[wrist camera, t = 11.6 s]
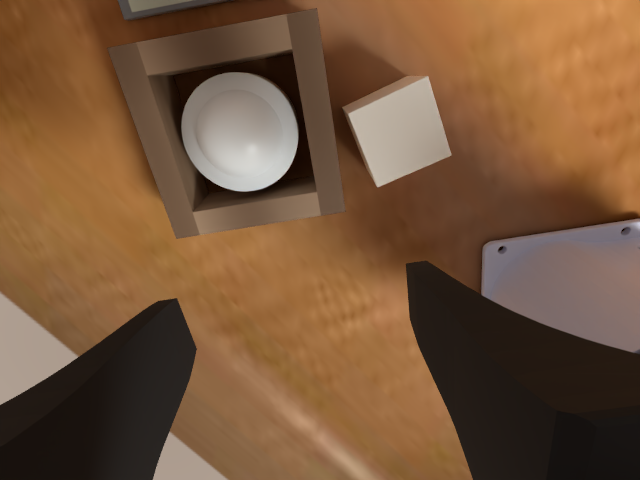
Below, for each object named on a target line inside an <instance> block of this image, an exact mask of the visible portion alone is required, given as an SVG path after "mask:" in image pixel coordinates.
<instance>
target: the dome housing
mask: <svg viewBox="0 0 640 480" xmlns="http://www.w3.org/2000/svg"><path fill="white" fill-rule="evenodd" d="M107 49H108V52H109V55H110V58H111V60H112V63H113V66H114V69H115V71H116V74H117V77H118V80H119V82H120V85H121V88H122V91H123V93H124V96H125V99H126V102H127V104H128V107H129V110H130V113H131V115H132V118H133V121H134V124H135V126H136V129H137V132H138V135H139V137H140V140H141V143H142V146H143V148H144V151H145V154H146V157H147V159H148V162H149V165H150V168H151V170H152V173H153V176H154V179H155V181H156V184H157V187H158V190H159V192H160V195H161V198H162V201H163V203H164V206H165V209H166V212H167V214H168V217H169V220H170V223H171V225H172V228H173V231H174V234H175V236H176V239H178V238H184V237H191V236H197V235H203V234H209V233H216V232H222V231H228V230H234V229H241V228H247V227H253V226H259V225H266V224H272V223H278V222H285V221H291V220H297V219H303V218H310V217H316V216H322V215H328V214H335V213H341V212H346V210H345V203H344V196H343V189H342V182H341V175H340V168H339V161H338V154H337V147H336V140H335V133H334V126H333V119H332V111H331V104H330V97H329V90H328V83H327V76H326V69H325V62H324V55H323V48H322V41H321V34H320V27H319V20H318V12H317V8H316V9H310V10H305V11H300V12H294V13H289V14H284V15H279V16H273V17H268V18H263V19H257V20H252V21H247V22H241V23H236V24H231V25H226V26H220V27H215V28H210V29H204V30H199V31H194V32H188V33H183V34H178V35H173V36H167V37H162V38H157V39H151V40H146V41H141V42H135V43H130V44H125V45H119V46H114V47H109V48H107ZM292 53H293V57H294V62H295V68H296V74H297V80H298V86H299V91H300V97H301V103H302V109H303V114H304V120H305V126H306V132H307V138H308V143H309V149H310V155H311V161H312V167H313V172H314V176H311V177H305V178H299V179H293V180H287V181H281V182H275V183H273V184H271V185H269V186H268V187H265V188H263V189H259V190H255V191H234V190H226V191H220V192H214V193H209V192H208V189H207V185H206V182H205V179H204V176H203V174H202V173H201V172H200V171H199V170H198V169H197V168H196V167H195V165H194V164H193V162H192V161H191V159H190V157H189V155H188V154H187V151H186V149H185V146H184V142H183V138H182V130H181V124H182V115H183V111H184V110H183V106H182V103H181V100H180V97H179V93H178V90H177V87H176V83H175V80H174V77H173V75H177V74H183V73H188V72H194V71H199V70H205V69H210V68H216V67H221V66H226V65H232V64H237V63H243V62H248V61H254V60H259V59H265V58H270V57H276V56H281V55H287V54H292Z"/></svg>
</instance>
